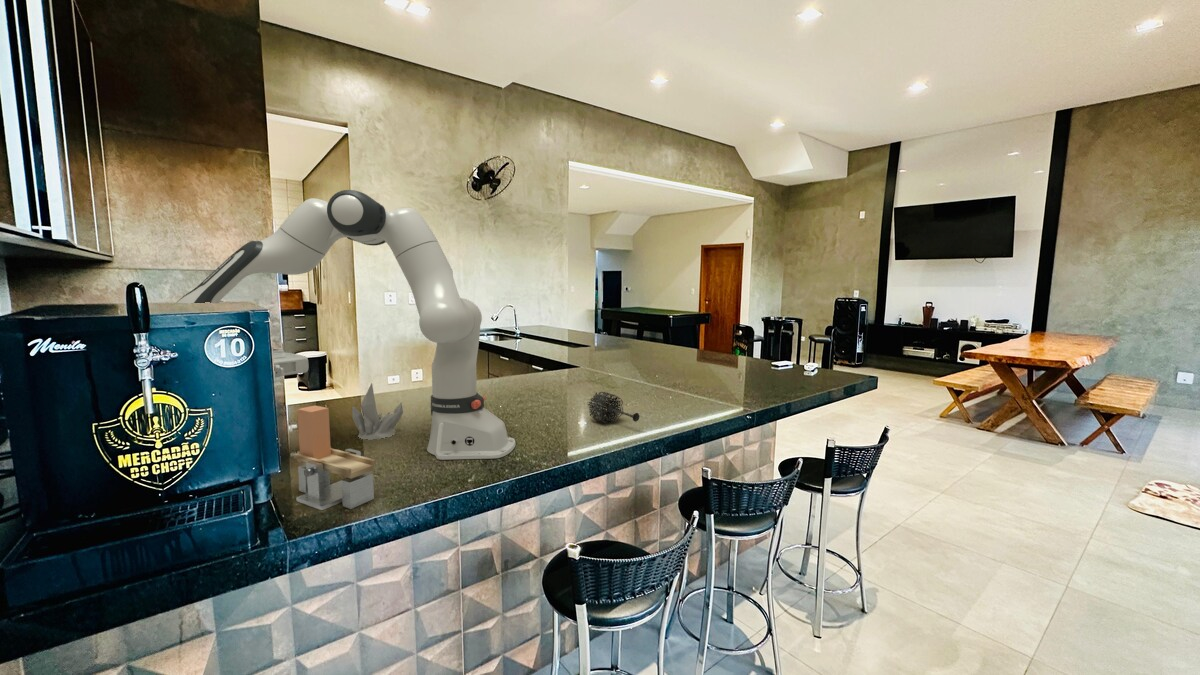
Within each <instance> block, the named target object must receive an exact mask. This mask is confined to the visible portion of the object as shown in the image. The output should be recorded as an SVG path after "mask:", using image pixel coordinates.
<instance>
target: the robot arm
mask: <svg viewBox="0 0 1200 675" xmlns="http://www.w3.org/2000/svg"><path fill="white" fill-rule="evenodd" d="M343 238H347V239H348V240H350V241H354V242H357V243H360V244H363V245H366V246H372V247H373V246H381V245H383V244H385V243H386V245H388V247H389V249H390V250H391V253H392V254H393V256H394V258H395V260H396V262H397V264H398V266H399V267H400V269H401V271H402V274H403V275H404V277H405V280H406V281H407V283H408V285H409V287H410V290H411V292H412V296H413V299H414V304H415V306H416V310H417V313H418V316H419V321H418V322H419V323H418V325H419V329H420V332H421V334H422V335H423V336H424V337H425V338H426V339H427V340H429V341H430V342H432V343H436V346H435V347H436V348H435V354H434V358H433V361H432V364H431V388H432V389H431V391H432V392H431V395H430V415H431V427H430V435H429V440H428V444H427V447H426V451H427V452H428V453H429V454H431V455H433V456H435V458H436V459H437V460H442V461H443V460H446V461H448V460H486V459H487V460H488V459H500V458H503V457H505V456H507V455H509V454H510V453H511V452H512V451H513V450H514V449H515V448H516V444H517V443H516V440H515V438H514V437H510V436H509V437H508V432H507V429H506V425H505V422H504V421H503V420H502V419H500V418H499V417H497V416H496V415H495V414H493V413H492V412H490V411H489V410H488V409H487V408H485V401H486V400H487V398H486V395H484V396H481V395H480V394H479V393H478V391H477V389H478V388H477V386H478V385H477V383H478V382H477V360H478V352H479V344H480V334H481V326H482V320H483V317H482V312H481V310H480V308H479V307H478V306H477V305H476V303H474V302H473V301H471V300H469V299H467V298H463V297H460V294H459V292H458V291H459V290H458V288H457V285H456V283H455V279H454V273H453V268H452V266H451V264H450V262H449V261H448V259H447V257H446V255H445V253H444V250H443V248H442V247H441V245H440V242H439V241H438V239H437V237H436V235H435V234H434V231H433V230H432V229H431V228H430V225H429V224H428V223H427V222H426V220H425V219H424V217H423V216H422V214H420V212H419V211H418V210H416V209H414V208H412V207H407V206H406V207H398V208H396V209H393V210H387V209H386V208H385V207H384V206H383V204H381V203H379V202H378V201H376V200H375V199H373V197H371V196H369V195H367V194H366V193H364V192H362V191H358V190H355V189H345V190H344V189H343V190H340V191H337V192H336V193H334V194H333V195H332V196H331V197H330V198H329V200H328V201H326V200H324V199H320V198H315V197H311V198H307V199H306V200H304V201H303V202H302V203H300V204H299V205H298V206H297V207H296V208H295V209H294V210H293V211H292V212H291V213H290V214H289V215H288V216H287V218H286V219H285V220H284V221H283V222H282V224H281V225H280V227H278V228H277V230H276V231H275V232H274V233H272V234H271V235H269V236H267V237H266V238H264V239H261V240H251V241H248V242H247V243H245V244H244V245H242V246H241V247H239V248H238V249H237V250H236V251H235V252H234V253H232V254H231V255H230V256H228V257H227V259H225V261H223V262H222V263H221V264H220V265H219V266H218V267H217V268H216V269H215V270H213V271H212V272H211V274H209V275H208V276H207V277H206V278H205V279H204V280H202V282H200V283H199V284H198V285H197V286H196V287H195V288H194V289H192V290H190V291H189V292H187V293H186V294H184V295H183V296H182V297H181V298H180V299H178V300H177V301H176V302H175V304H176V303H205V302H210V303H219V302H224V301H223V298H225V297H226V296H227V295H228V294H229V293H230V292H231V291H232V290H233V289H234V288H235V287H237V285H238V284H239V283H240V282H242V281H243V280H244V279H245V278H247V277H248V276H250V275H254V274H259V273H262V274H263V273H265V274H266V273H269V274H270V273H271V274H279V275H280V274H281V275H290V276H292V275H294V276H295V275H303V274H307V273H309V272H311V271H313V270H314V269H315V268H316V267H317V266H318V265H319V264H320V263H321V262H322V260H323V259H324V258H325V256H326V255H327V253H328V252H329V251H330V249H331V247H332V246H333V245H334V244H335V243H336V242H337V241H338V240H341V239H343ZM272 349H273V348H272ZM273 358H274V371H275V378H279V377H284V376H291V375H298V374H306V373H308V371H309V369H310V368H309V359H308V357H307V356H306V355H301V354H296V353H294V352H293V353H292V352H285V350H284V349H279V348H278V349H277V348H276V349H275V348H274V349H273Z"/></svg>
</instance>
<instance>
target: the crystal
mask: <svg viewBox="0 0 1200 675" xmlns="http://www.w3.org/2000/svg"><path fill="white" fill-rule="evenodd" d="M360 409H361V411H360V410H358V409H357V408H356V407H355V406H353V405H352V406H351V418H352V420H353V422H354V424H355V427H356V428H357V429H358V432H359V433H358V435H357V438H358V437H359V438H358V439H360V438H361V439H360V440H362V439H368V440H367V441H374V440H373V439H377V440H382V439H381V438H384V439H386V438H385V437H388V436H391V435H393V434H394V435H395V434H396V433H397V431H396V430H395V428H396V426H397V425H398V422H400V419H401V417H402V415H403V414H404V410H403V409H404V408H403V404H402V402H400V403H399V404H398V405H397V406H396V408H395V409H394V411H393V413H390V412H388V413H387V414H386V415H385V416H383V417H382V413H381V412H380V414H379V413H378V411H377V405H376V400H375V394H374V386H373V383H370V386H369V387H368V389H367V392H366V394H365V395H364V397H363V400H362V402H361V404H360ZM395 432H396V433H395ZM394 435H393V436H394ZM391 437H392V436H391ZM388 438H389V437H388Z"/></svg>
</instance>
